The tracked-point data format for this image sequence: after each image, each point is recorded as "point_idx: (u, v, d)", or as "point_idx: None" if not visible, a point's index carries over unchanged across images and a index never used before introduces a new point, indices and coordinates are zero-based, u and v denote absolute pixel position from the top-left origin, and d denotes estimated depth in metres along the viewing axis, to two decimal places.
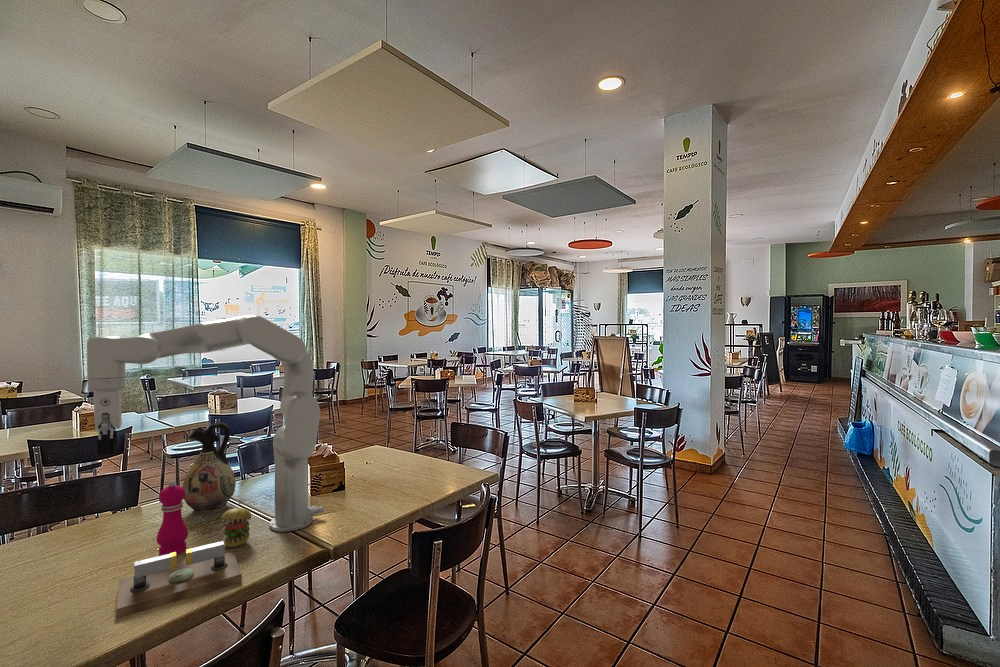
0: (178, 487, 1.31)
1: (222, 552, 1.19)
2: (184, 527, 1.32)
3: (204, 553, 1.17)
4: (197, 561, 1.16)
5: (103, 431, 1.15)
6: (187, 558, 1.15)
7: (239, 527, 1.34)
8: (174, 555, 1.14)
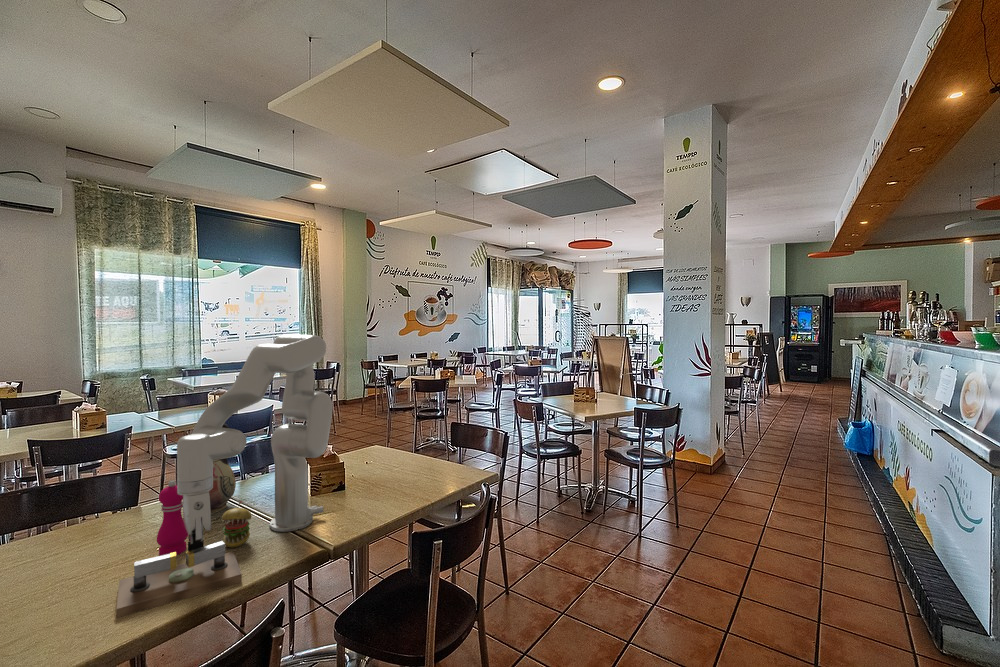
0: None
1: (223, 552, 1.19)
2: (184, 527, 1.32)
3: (205, 554, 1.16)
4: (199, 562, 1.16)
5: None
6: (189, 560, 1.14)
7: (239, 527, 1.34)
8: (174, 555, 1.14)
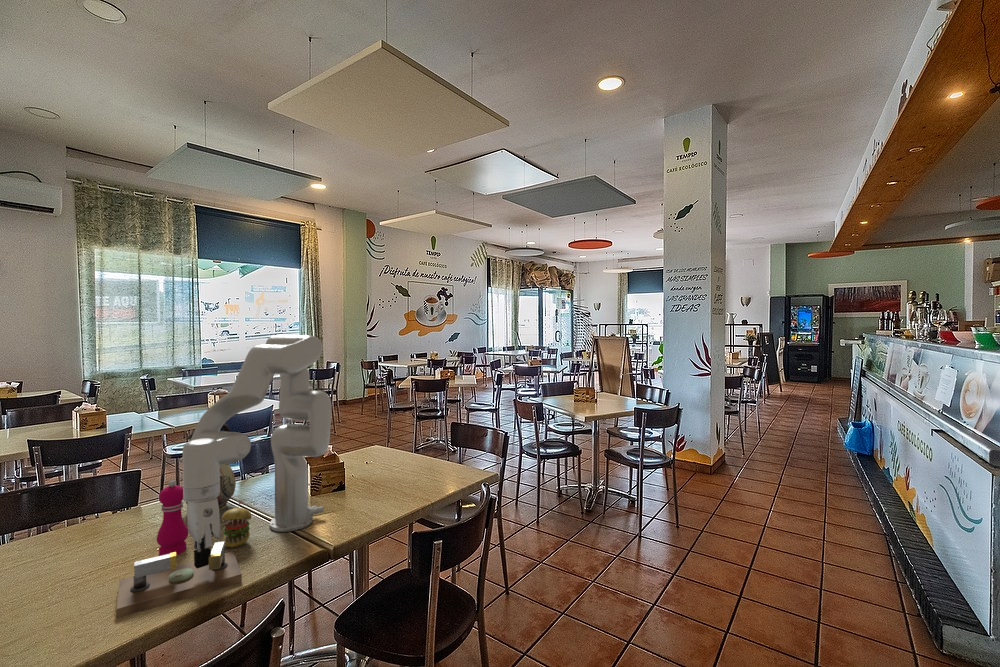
0: (178, 487, 1.31)
1: (224, 549, 1.21)
2: (184, 527, 1.32)
3: (222, 553, 1.17)
4: (221, 562, 1.16)
5: None
6: (220, 561, 1.14)
7: (239, 527, 1.34)
8: (174, 555, 1.14)
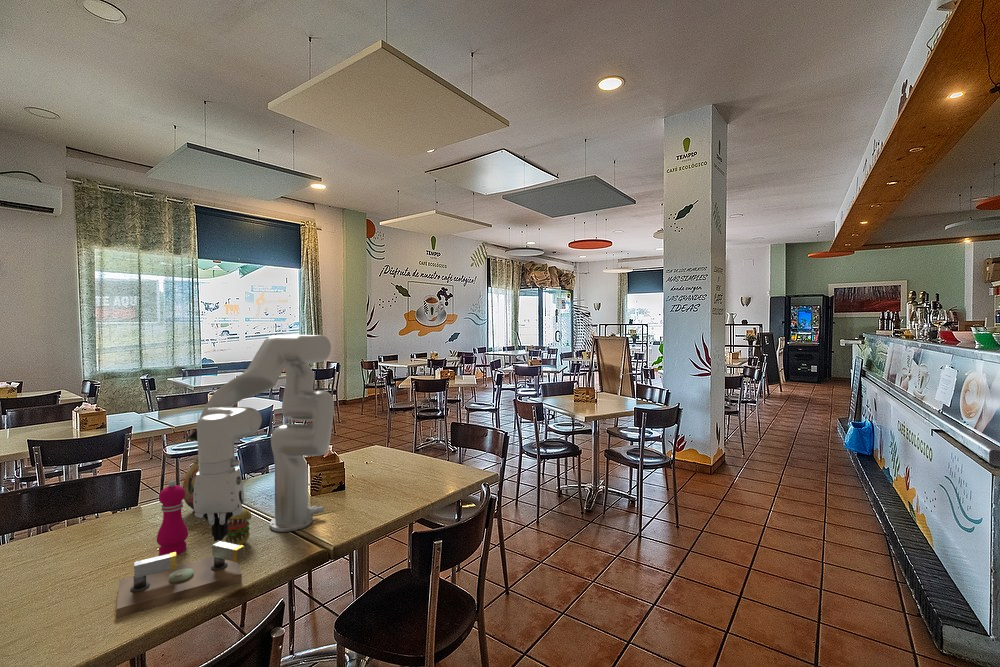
0: (178, 487, 1.31)
1: None
2: (184, 527, 1.32)
3: None
4: None
5: None
6: None
7: (239, 527, 1.34)
8: (174, 555, 1.14)
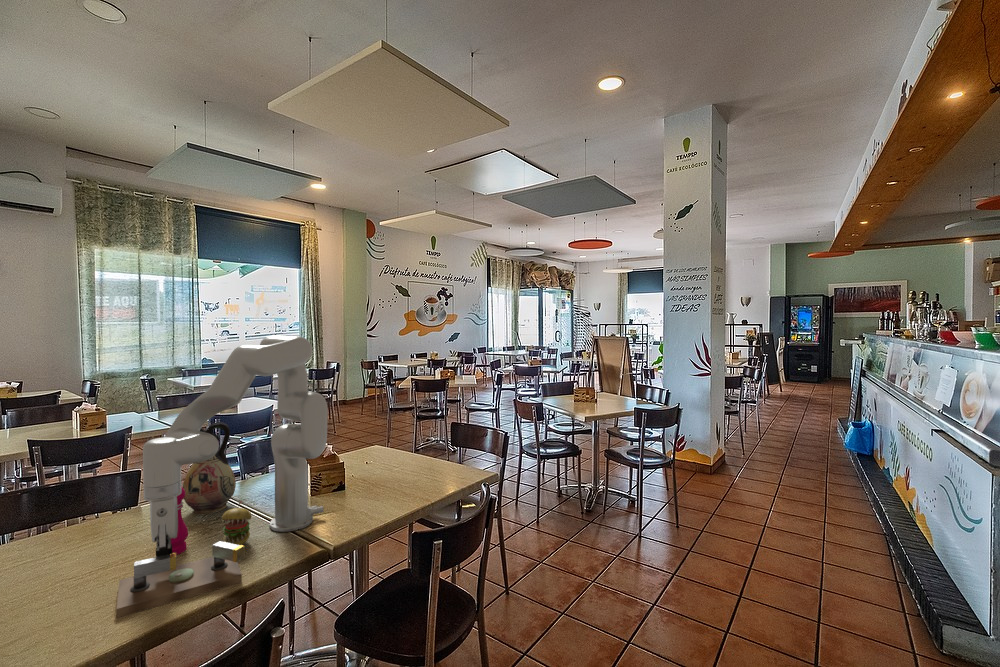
0: None
1: None
2: (184, 527, 1.32)
3: None
4: None
5: None
6: None
7: (239, 527, 1.34)
8: (174, 556, 1.13)
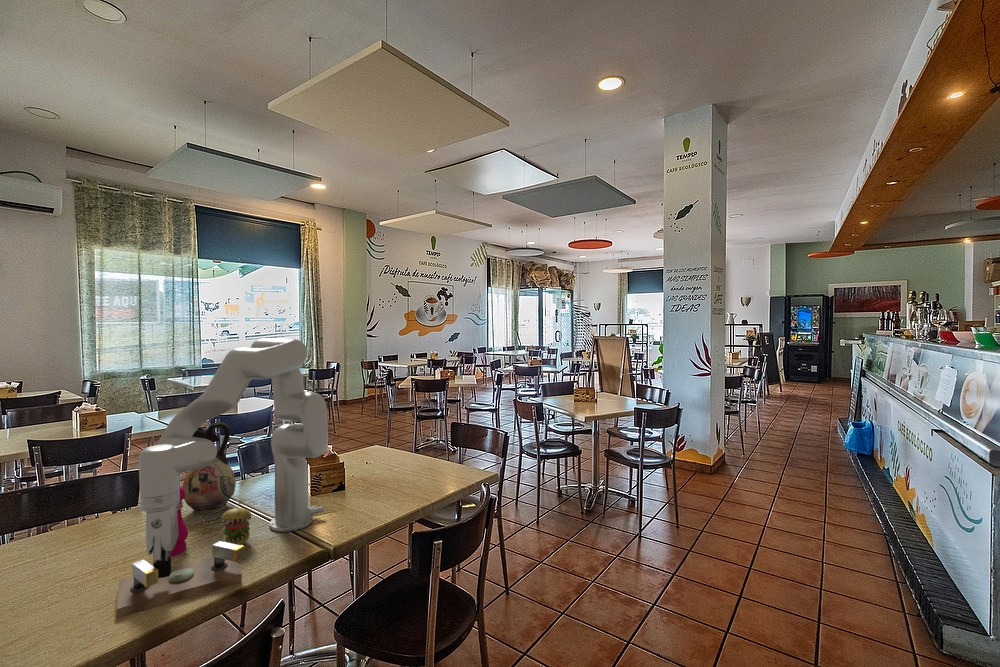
0: None
1: None
2: (184, 527, 1.32)
3: None
4: None
5: None
6: None
7: (239, 527, 1.34)
8: (147, 572, 1.06)
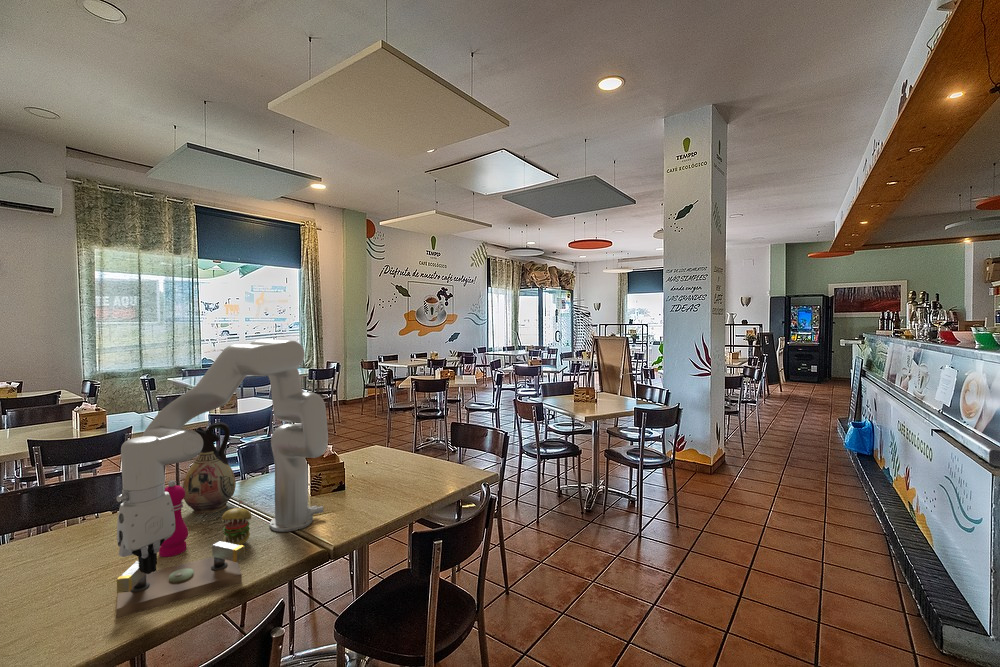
0: (178, 487, 1.31)
1: None
2: (184, 527, 1.32)
3: None
4: None
5: None
6: None
7: (239, 527, 1.34)
8: (119, 578, 1.03)
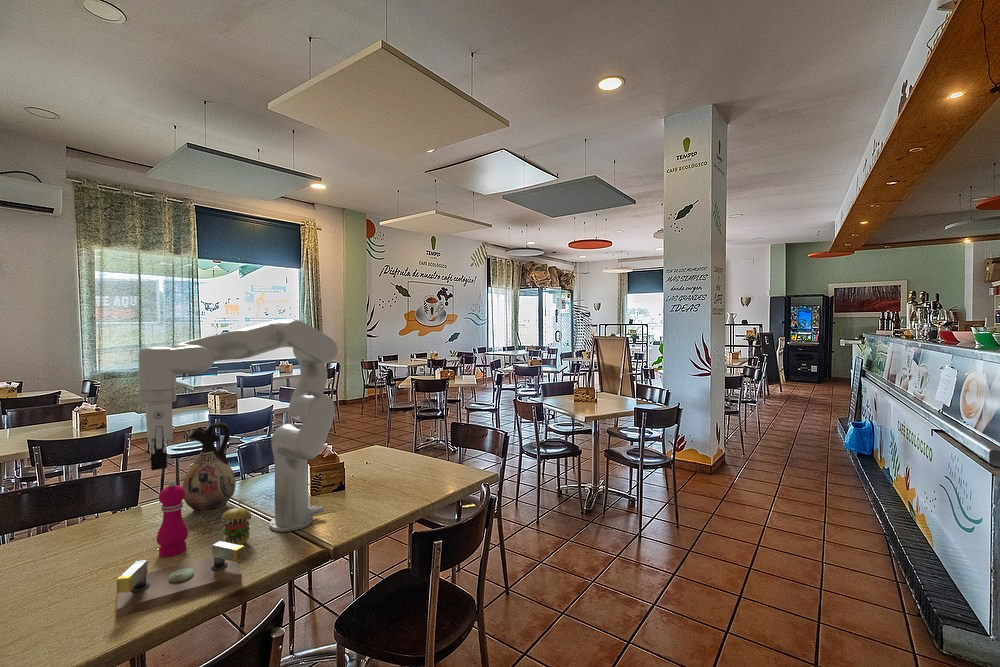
0: (178, 487, 1.31)
1: None
2: (184, 527, 1.32)
3: None
4: None
5: (157, 449, 1.16)
6: None
7: (239, 527, 1.34)
8: (119, 578, 1.03)
